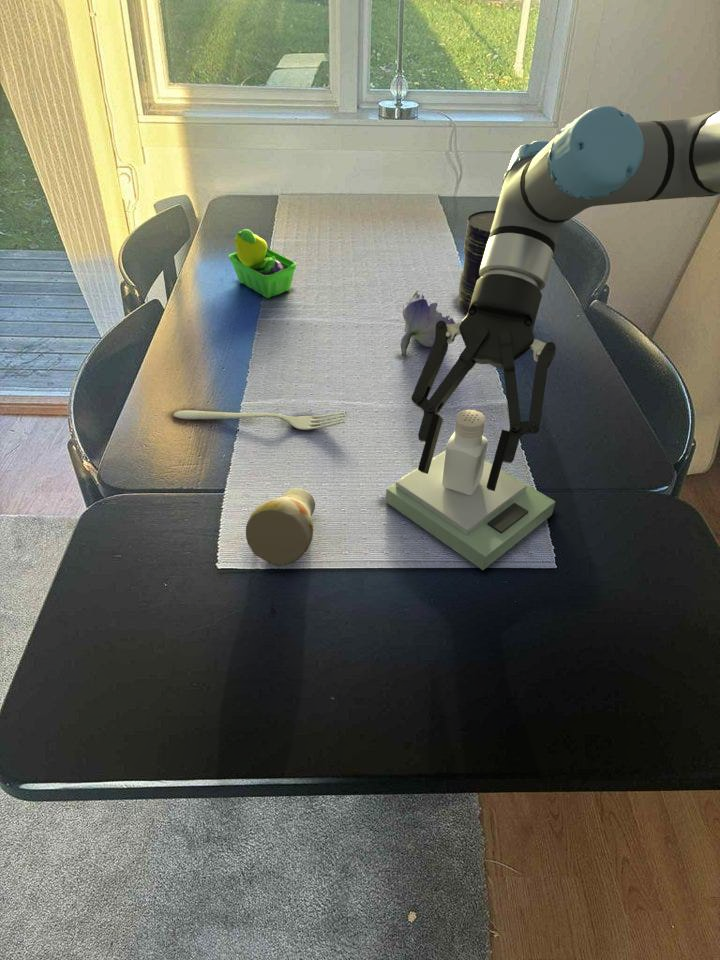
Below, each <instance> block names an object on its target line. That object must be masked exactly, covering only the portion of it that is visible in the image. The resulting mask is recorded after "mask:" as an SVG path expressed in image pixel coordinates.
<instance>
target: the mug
mask: <svg viewBox="0 0 720 960" xmlns="http://www.w3.org/2000/svg"><path fill="white" fill-rule="evenodd" d="M315 509H316V501H315V498H314V497H313V495H312V494H311V493H310V492H309V491H307V490H305V489H303V488H296V487H295V488H294V487H293V488H291V489H288V490H287V491H285V493H283V495H282V496H281V497H276V498H272V499H268V500H266V501H265V502H262V503H261V504H259V505H258V506H257V507H256V508H255V509H254V510H253V511H252V513H251V514H250V515H249V518H248V520H247V523H246V526H245V538H246V542H247V544H248V546H249V548H250V549H251V551H252V553H253V554H254V555H255V556H257V557H258V558H260V559H261V560H264V561H265V562H267V563H268V564H271V565H275V566H283V565H290V564H292V563H294V562H295V561H297V560H299V559H300V558H301V557H302V556H303V555H304V554H306V552H307V551H308V550H309V548H310V545H311V543H312V541H313V536H314V523H313V519H312V516H313V514H314V512H315Z"/></svg>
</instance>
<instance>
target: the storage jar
mask: <svg viewBox="0 0 720 960" xmlns="http://www.w3.org/2000/svg"><path fill="white" fill-rule="evenodd" d="M495 213H496V210H481V211H476V212H474V213H471V214H470V215H469V216H468V217H467V221H466V225H467V226H466V231H465V232H466V233H465V234H464V245H463V253H464V259H463V267H462V271H461V273H460V279H459V284H458V285H459V286H458V300H457V306H458V308H459V309H460V311H462V312H463V313H465V314H467V313H468V310H469V307H470V303H471V299H472V296H473V292H474V289H475V285H476V282H477V280H478V279H479V278H481V277H480V275H479V270H480V267H481V263H482V259H483V256H484V252H485V249H486V245H487V242H488V239H489V236H490V232H491V228H492V224H493V221H494V217H495Z"/></svg>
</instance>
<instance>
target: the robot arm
mask: <svg viewBox="0 0 720 960" xmlns="http://www.w3.org/2000/svg"><path fill="white" fill-rule="evenodd" d="M501 186H502V187H501V190H500V194H499V199H498V202H497V206H496V210H495V211H496V213H495V217H494V221H493V224H492V228H491V232H490V236H489V239H488V242H487V245H486V249H485V252H484V256H483V259H482V263H481V267H480V270H479V275H480V277H481V278H479V279H478V280H477V282H476V285H475V289H474V292H473V296H472V299H471V303H470V307H469V310H468V313H466V316H465V317H464V318H463V319H462V320H461V321H460V322H459V323H455V324H446V323H445V322H444V321H438V322H437V323H436V330H435V341H434V344H433V346H432V347H431V348H430V351H429V354H428V356H427V359H426V361H425V363H424V365H423V368H422V371H421V373H420V376H419V379H418V380H417V382H416V385H415V388H414V390H413V392H412V394H411V401H412V403H413V404H414V405H415V406H416V407H417V408H419V409H420V410H422V411H423V415H422V419H421V423H420V426H419V430H418V434H417V437H418V440H419V441H420V442H422V443H424V445H423V449H422V452H421V456H420V460H419V462H418V463H419V464H418V467H417V468H418V470H419V471H421V472H422V473H426V474H428V472H429V468H430V465H431V461H432V459H433V458H434V454H435V450H436V446H437V443H438V439H439V435H440V433H441V428H442V425H443V422H444V418H443V417H442V416H441V415H440V414H439V413H440V412H441V410H442V409H443V407H445V405H446V403H447V402H448V401H449V399H450V398H451V396H452V395H453V394H454V393H455V391H456V390H457V389H458V387H459V386H460V384H461V383H462V381H464V379H465V378H466V376H467V374H468V373H469V372H470V371H471V370H473V368H474V367H475V365H476V364H479V365H491V366H492V367H494V368H497V369H502V370H503V378H504V385H505V386H504V387H505V396H506V404H507V413H508V422H509V429H508V430H505V429H501V432H500V436H499V439H498V443H497V447H496V450H495V453H494V458H493V462H492V464H493V465H492V468H491V472H490V476H489V479H488V483H487V489H488V490H492V491H495V488H496V485H497V481H498V477H499V474H500V470H501V469H502V466H503V463H507V464H512V463H513V461H514V460H515V457H516V454H517V449H518V447H519V442H520V439H521V437H523V436H524V435H537V434H538V433H539V431H540V428H541V420H542V413H543V406H544V398H545V391H546V383H547V377H548V370H549V368H550V365H551V363H552V362H553V360H554V359H555V357H556V349H557V346H556V344H555V343H554V342H552V341H549V342H545V341H542V340H540V339H537V338H536V337H535V336H536V335H535V333H534V327H535V323H536V319H537V317H538V313H539V309H540V306H541V302H542V298H543V294H542V290H544V289H545V287H546V283H547V279H548V275H549V272H550V268H551V264H552V262H553V261H552V260H553V257H554V254H555V250H556V245H557V242H558V238H559V237H560V236H559V235H560V231H561V228H562V226H563V225H564V223H565V222H567V221H569V220H571V219H572V218H574V217H576V216H577V215H578V214H580V213H581V212H583V211H585V210H587V209H589V208H592V207H599V206H608V205H609V206H610V205H611V206H612V205H621V204H631V203H642V202H651V201H660V200H661V201H662V200H674V199H675V200H676V199H687V198H706V197H708V198H709V197H716V196H718V195H720V110H716V111H711V112H707V113H704V114H700V115H697V116H691V117H685V118H675V119H665V120H647V121H646V120H644V121H636V120H635V119H634V117H633V116H632V115H631V114H630V113H628V112H624V111H622V110H620V109H618V107H615V106H613V105H601V106H596V107H594V108H591V109H588V110H587V111H585V112H584V113H583V114H581V115H580V116H578V117H577V118H575V119H574V120H573V121H572V122H568V124H566V126H564V127H563V128H561V129H560V131H559V132H558V133H557V134H556V136H555V137H554V138H552V140H534V141H532V142H531V143H524V144H522V145H520V146H519V147H518V148H517V149H516V150H515V151H514V152H513V154H512V156H511V159H510V162H509V165H508V167H507V170H506V171H505V173H504V175H503V179H502V185H501ZM459 335H460V336H461V338H462V340H463V341H462V342H463V343H464V346H465V347H464V349H463V350H462V351H461V353H460V354H459V356H458V359H457V360H456V362H455V363H454V364H453V366H452V367H451V369H450V370H449V372H448V373H447V374H446V376H445V377H444V379H442V381H441V383H440V384H439V385H438V387H437V388H436V389H435V391H434V392H433V394H432V395H431V396H430V397H429V395H430V393H431V390H432V388H433V386H434V383H435V381H436V379H437V375H438V374H439V372H440V369H441V366H442V365H443V362H444V359H445V357H446V355H447V352H448V348H449V344H453V343H454V342H455V339H456V338H457V336H459ZM530 350H532V351H533V354H532V355H533V357H532V358H533V360H534V362H535V363H536V364H535V371H534V376H533V377H534V378H533V383H532V384H533V385H532V392H531V399H530V406H529V415H528V420H522V419H521V410H520V401H519V393H518V385H517V373H516V365H515V362H516V361H517V360H518V359H519V358H521V357H522V356H523V355H524V354H525V353H527V352H528V351H530Z"/></svg>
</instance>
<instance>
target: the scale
mask: <svg viewBox="0 0 720 960" xmlns="http://www.w3.org/2000/svg"><path fill="white" fill-rule="evenodd" d="M445 451H446V450H444V451H442V452H440V453H439V454H438V455H436V456H433V458H432V461H431V465H430V468H429V472H428V474H426V473H422V472H421V471H419V470H418V467H416V469H414V470H412V471H411V472H409V473H407V474H406V475H404V476H403V477H401V478H399V479H398V480H396V482H395V483H393V484H391V485H390V486H388V487H387V488H386V491H385V492H386V493H385V503H386V504H388V505H389V506H391V507H392V508H394V509H395V510H396V511H397V512H399V513H401V514H402V515H404V516H405V517H406V518H408V519H409V520H411V521H412V522H414V523H415V524H416V525H418V526H419V527H420V528H422V529H423V530H425V531H426V532H428V533H429V534H430V535H432V536H433V537H435V539H437V540H439V541H440V542H441V543H443V544H445V545H446V546H447V547H449V548H450V549H451V550H453V551H454V552H456V553H457V554H458V555H460V556H462V557H463V558H464V559H466V560H468V561H469V562H470V563H472V564H473V566H476V567H477V568H479V569H480V570H482V571H484V570H485V569H487V568H488V567H489V566H490V565H491V564H493V563H494V562H496V560H497V559H499V558H501V557H502V556H503V555H504V554H505V553H507V552H508V551H509V550H510V549H512V548H513V547H514V546H515V545H517V544H518V543H519V542H521V540H523V539H524V538H525V537H526V536H528V535H530V533H531V532H533V531H534V530H535V529H537V528H538V527H539V526H540V525H542V524H543V523H544V522H545V521H546V520H548V519H549V518H550V517H551V516H552V515H553V514H554V508H555V505H556V501H555V500H554V499H552V498H550V497H549V496H547V495H545V494H544V493H542V492H540V491H539V490H537V489H535V488H534V487H532V486H530V485H528V484H527V483H525V482H523V481H522V480H520V479H518V478H517V477H515V476H513V475H512V474H510V473H508V472H507V471H505V470H503V469H502V468H501V470H500V474H499V477H498V481H497V485H496V488H495V491H492V490H488V489H487V483H488V479H489V476H490V472H491V468H492V465H493V463H491V462H490V461H488V460H486V459H485V463H484V469H483V475H482V479H481V480H480V482H479V484H478V486H477V488H476V489H475V491H474V492H473V494H471V495H467V494H463V493H460V492H457V491H454V490H451V489H448V488H445V487H444V486H442V476H443V468H444V459H445Z"/></svg>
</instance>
